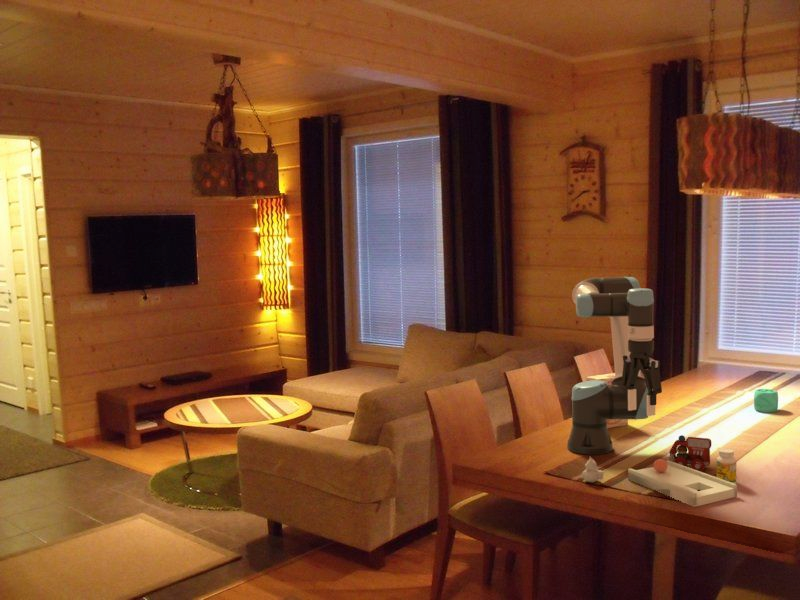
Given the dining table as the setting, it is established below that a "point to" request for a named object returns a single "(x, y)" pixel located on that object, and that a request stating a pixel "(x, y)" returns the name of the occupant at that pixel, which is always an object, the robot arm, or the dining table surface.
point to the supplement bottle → (726, 465)
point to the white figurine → (592, 472)
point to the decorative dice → (766, 400)
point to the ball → (660, 465)
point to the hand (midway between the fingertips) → (641, 412)
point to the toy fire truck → (691, 452)
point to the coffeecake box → (608, 379)
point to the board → (684, 484)
